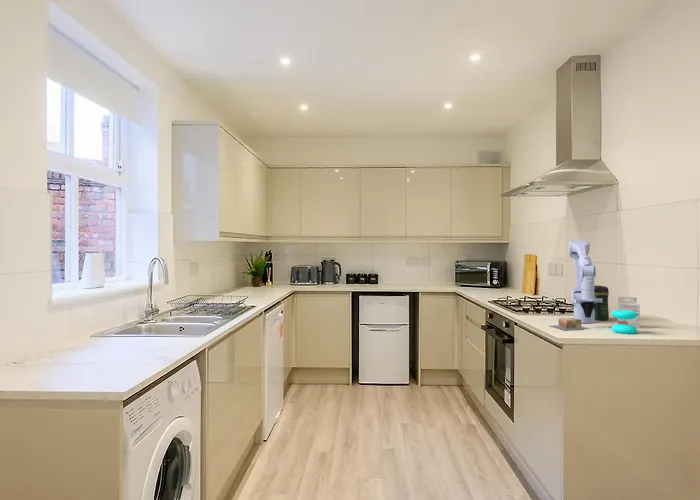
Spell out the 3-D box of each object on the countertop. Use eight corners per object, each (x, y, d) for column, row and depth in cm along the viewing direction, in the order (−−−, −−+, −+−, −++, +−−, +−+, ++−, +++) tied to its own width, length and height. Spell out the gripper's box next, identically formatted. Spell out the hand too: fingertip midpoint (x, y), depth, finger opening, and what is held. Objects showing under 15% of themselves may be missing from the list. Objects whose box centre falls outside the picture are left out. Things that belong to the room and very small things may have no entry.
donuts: (607, 310, 205) (618, 308, 210) (607, 331, 205) (618, 329, 210) (630, 313, 196) (641, 311, 202) (630, 335, 196) (641, 333, 202)
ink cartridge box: (619, 327, 216) (619, 297, 216) (617, 325, 221) (617, 296, 221) (640, 328, 213) (639, 298, 213) (637, 326, 218) (636, 297, 218)
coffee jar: (611, 320, 237) (611, 286, 237) (597, 320, 236) (597, 286, 236) (600, 317, 246) (599, 284, 246) (586, 318, 246) (586, 285, 246)
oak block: (573, 317, 219) (558, 318, 218) (581, 319, 213) (566, 320, 212) (573, 325, 219) (558, 326, 218) (581, 328, 213) (566, 328, 212)
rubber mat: (567, 325, 222) (567, 325, 222) (583, 329, 210) (583, 329, 210) (549, 326, 220) (549, 325, 220) (564, 330, 208) (564, 329, 208)
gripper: (579, 290, 212) (580, 319, 212) (606, 290, 214) (606, 318, 214) (570, 289, 219) (570, 316, 219) (596, 289, 221) (596, 316, 221)
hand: (587, 317), depth 217 cm, fingers closed
